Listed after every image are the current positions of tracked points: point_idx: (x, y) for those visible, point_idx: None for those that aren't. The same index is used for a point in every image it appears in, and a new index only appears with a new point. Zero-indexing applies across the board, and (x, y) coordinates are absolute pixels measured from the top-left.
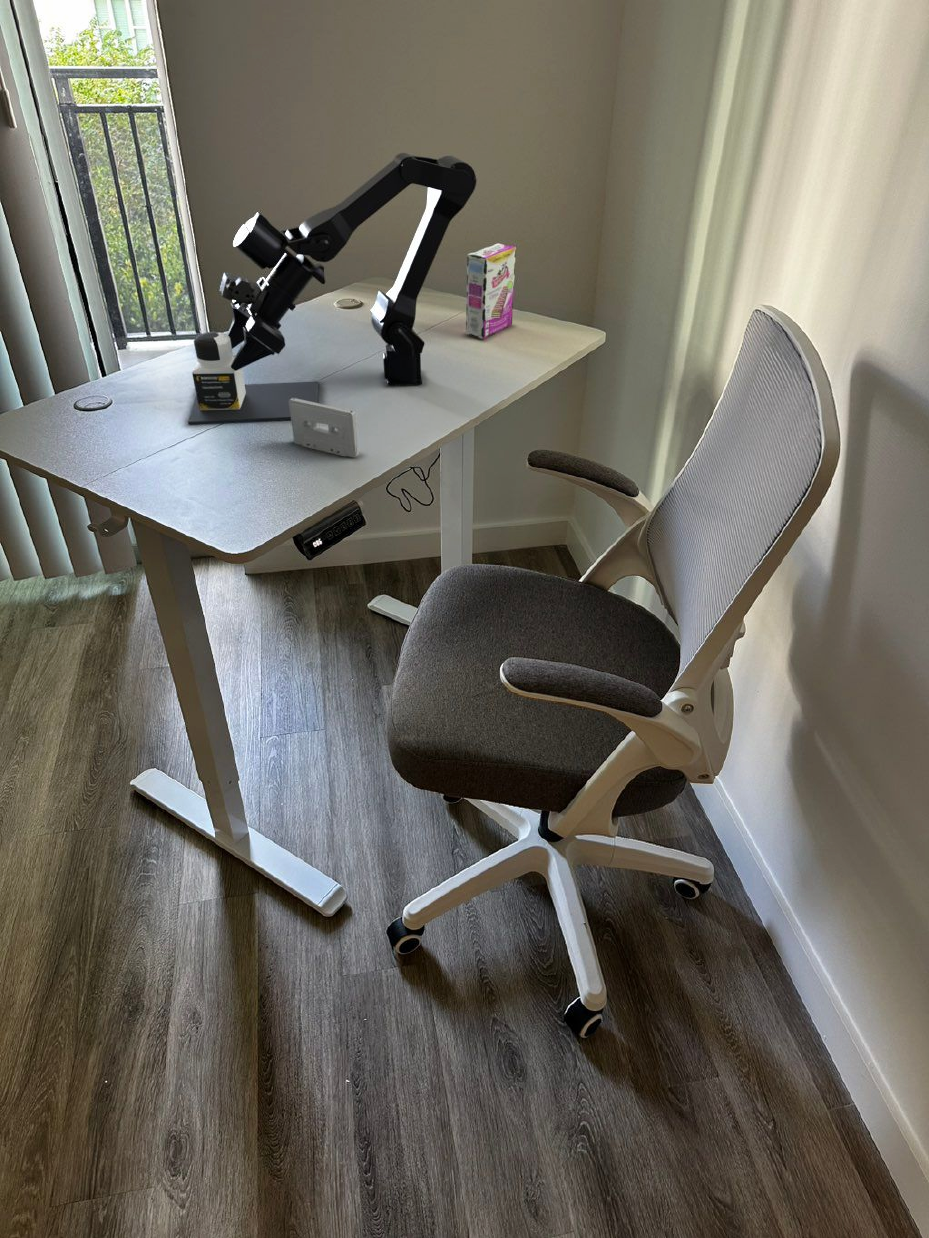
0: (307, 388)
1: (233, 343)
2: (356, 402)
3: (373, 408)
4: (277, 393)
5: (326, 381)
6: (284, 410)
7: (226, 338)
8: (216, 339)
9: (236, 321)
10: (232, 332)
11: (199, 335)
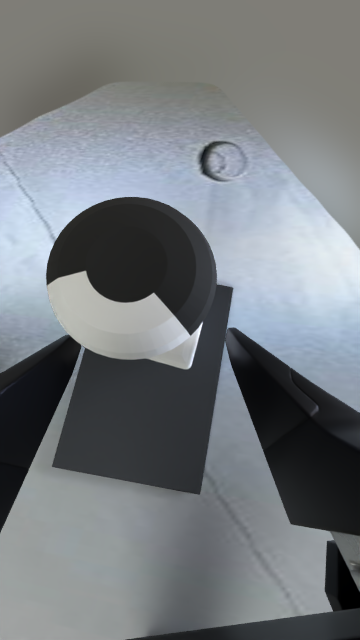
0: (172, 467)
1: (236, 364)
2: (98, 548)
3: (59, 579)
4: (168, 408)
5: (208, 505)
6: (95, 410)
7: (91, 340)
8: (63, 284)
9: (315, 432)
10: (263, 377)
11: (159, 212)
